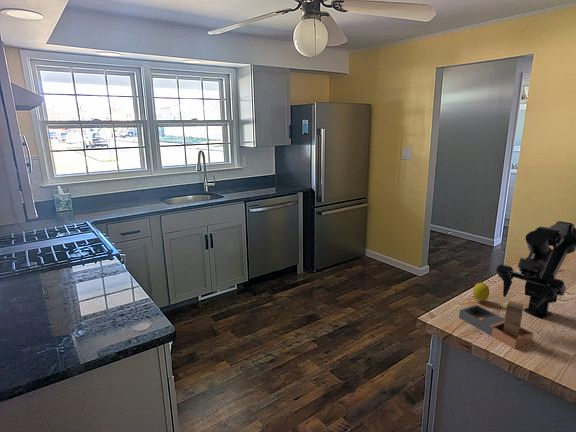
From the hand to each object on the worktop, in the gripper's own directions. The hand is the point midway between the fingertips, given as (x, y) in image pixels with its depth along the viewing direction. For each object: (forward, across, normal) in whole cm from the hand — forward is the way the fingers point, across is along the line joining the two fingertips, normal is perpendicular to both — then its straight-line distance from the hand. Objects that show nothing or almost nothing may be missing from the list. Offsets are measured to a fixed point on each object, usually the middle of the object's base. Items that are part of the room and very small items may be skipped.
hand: (519, 301), depth 116 cm
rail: (+10, -6, +7) cm, 13 cm away
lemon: (-1, -17, +18) cm, 25 cm away
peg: (+11, 0, +6) cm, 12 cm away
